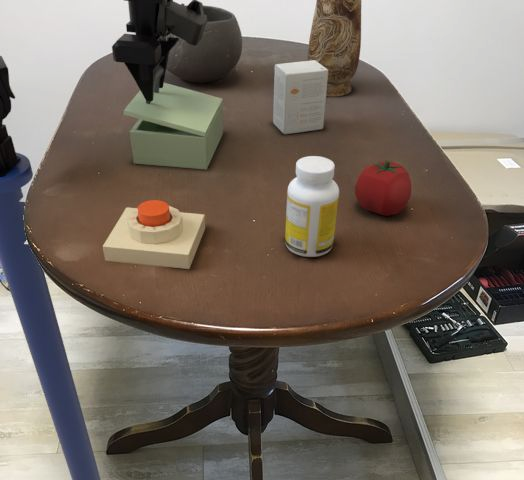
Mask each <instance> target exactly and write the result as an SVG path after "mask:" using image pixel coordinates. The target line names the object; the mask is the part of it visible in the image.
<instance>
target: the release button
mask: <svg viewBox="0 0 524 480" xmlns="http://www.w3.org/2000/svg"><path fill="white" fill-rule="evenodd" d="M169 206H170V205H169V204H168V203H167V202H165V201H163V200H159V199H158V200H157V199H152V200H151V199H150V200H146V201H143V202H142V203H140V204H139V205H138V206H137V208H138V217H139V222H140V223H141V224H142V225H143V226H148V227H157V226H163V225H165V224H167V223H168V222H169V221H170V210H169Z"/></svg>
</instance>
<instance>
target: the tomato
mask: <svg viewBox="0 0 524 480" xmlns="http://www.w3.org/2000/svg"><path fill="white" fill-rule="evenodd" d="M354 193H355V197H356V200H357V202H358V204H359V205H360V206H361V208H363V209H364V210H366V211H369V212H373V213H375V214H378V215H381V216H384V217H389V216H392V215H396V214H397V215H398V214H400V212H401V211H402V210H404V209H405V207H406V206H407V205H408V203H409V202H410V198H411V197H412V180H411V177H410V174H409V172H408V171H407V170H406V168H405V167H404V166H403V165H401V164H399V163H396V162H394V161H390V160H385V161H382V162H378V163H372V164H370V165H367V166H366V167H365V168H364V169H362V171H361V172H360V173H359V175H358V177H357V179H356V183H355V186H354Z"/></svg>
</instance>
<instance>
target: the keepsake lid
mask: <svg viewBox="0 0 524 480" xmlns="http://www.w3.org/2000/svg"><path fill="white" fill-rule="evenodd" d="M163 73H164V69H163V67H162V66H160V65H157V67H156V72H155V86H154V98H153V101H146V100H145V98H144V96H143V94H142V92H141V90H140V89H139V91H138V92H137V94H136V95H135V96H134V97H133V99H132V100H130V102H129V103H128V104H127V105H126V107H125V108H124V110H123V116H127V117H131V118H134V119H138V120H139V119H141V120H144V121H148V122H152V123H155V124H159V125H163V126H166V127H170V128H174V129H178V130H181V131H185V132H189V133H192V134H196V135H200V136H203V137H205V136H206V134H207V132H208V130H209V128H210V126H211V124H212V122H213V120H214V118H215V116H216V114H217V112H218V110H219V108H220V106H221V104H222V105H223V101H224V100H223V99H224V98H222V97H218V96H214V95H210V94H207V93H203V92H200V91H197V90H193V89H190V88H185V87H181V86H178V85H174V84H170V83H168V82H164V85H163V88H159V87H160V77H161V76H162V75H163Z"/></svg>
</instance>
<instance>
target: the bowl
mask: <svg viewBox="0 0 524 480" xmlns="http://www.w3.org/2000/svg"><path fill="white" fill-rule="evenodd" d="M188 5H189V4H187V5H185V6H186V7H187V6H188ZM203 12H204V14H205V15H207V17H206V18H207V24H206V25H205V28H204V32H203V35H202V38H201V40H200V41H199V42H198V44H197V45H196V46H194V45H190V44H188V43H187V42H186V41H185V40H183V39H181V38H179V37H178V38H179V41H178V42H177V43H176V44H175V45H174V47H173V48H172V49H171V50H170V52H169V56H168V62H167V68H166V71H168V72H169V73H170V74H172V75H173V76H175V77H176V78H179V79H180V80H183V81H185V82H189V83H197V84H198V83H211V82H214V81H218V80H220V79H222V78H224V77H226V76H227V75H228V74H229V73H231V71H233V70H234V68H235V67H236V66H237V64H238V63H239V61H240V59H241V56H242V51H243V36H242V31H241V28H240V24H239V22H238V20H237V17H236V16H235V14H234V13H233V12H231V11H229V10H226V9H225V8H221V7H218V6H211V5H203ZM171 37H177V36H175V35H173V34H171Z"/></svg>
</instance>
